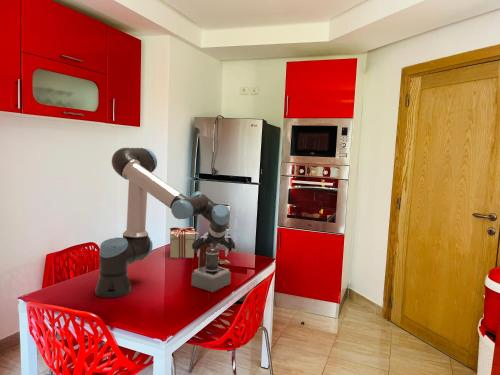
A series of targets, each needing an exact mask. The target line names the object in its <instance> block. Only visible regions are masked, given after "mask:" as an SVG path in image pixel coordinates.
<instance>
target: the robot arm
mask: <svg viewBox="0 0 500 375" xmlns="http://www.w3.org/2000/svg"><path fill="white" fill-rule="evenodd" d="M111 167H112V169H113V170H114V172H115V173H116V174H118V176H120V177H122V178H123V179H125V180H127V181H128V190H127V209H126V210H127V211H126V214H127V215H126V230H125V231H123V233H122V237H113V238H108V239H105V240H103V241H102V242H101V243H100V245H99V251H98V252H99V277H98V279H97V284H96V286H95V289H94V290H95V293H94V294H95V295H96V296H97V297H100V298H104V299H105V298H106V299H107V298H108V299H109V298H110V299H111V298H112V299H113V298H120V297H124V296H127V295H128V294H130V292H132V284H131V281H130V278H129V276H128V265H130V264H134V263H135V262H138V261H142V260H144V259H145V258H147V257H149V256H150V255H151V253H152V251H153V247H154V246H153V241H152V240H151V237H150V236H149V232H147V230H146V222H147V207H148V206H147V201H148V194H150V195H151V196H152V197H153V198H154V199H156V200H158V201H159V202H160V203H161V204H163V205H165V207H168V208H169V209H170V210H171V214H172V215H173V217H174V218H175V219H178V220H186V219H190V218H191V217H196V216H200V215H201V216H202V217H203V218H205V219H206V220H207V221H208V222H209V228H208V231H207V232H208V235H207V236H203V235H204V233H203V234H200V236H199V237H198V238H197V239H195V242H194V243H193V244H192V249H194V251H195V253H196V254H197V255H196V257H197V258H199V254H200V248H202V247H204V246H206V245H210V244H211V243H212V244H213V243H217V245H218V244H220V246H224V247H225V250H224V253H225V255H224V256H225V257H228V254H229V252H232V250H235V249H236V243H235V242H234V240H233V239H232V237H231V236H232V235H231V234H230V233H229V234H227V235H226V232H227V227H228V224H229V221H230V219H231V218H230V215H231V212H230V208H228V206H226V205H224V204H216V203H215V202H214V201H212V199H210V197H208V196H207V195H206V194H204V193H202V192H201V191H198V190H197V191H195V192H193V193H192V194H191V195H190V197H187V196H185V195H184V194H183V193H181V192H180V191H179V190H178V189H176V188H174V187H173V186H171V185H170V184H169V183H167V182H165V181H164V180H162V179H161V178H160V177H158V176H157V175H155V174H154V173H153V172H154V171H155V170H156V168H157V167H158V158H157V157H156V154H155V153H154V151H152V150H151V149H148V148H143V147H121V148H119V149H117V150H116V151H115V152H114V153H113V155H112V157H111Z"/></svg>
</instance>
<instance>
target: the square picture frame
mask: <svg viewBox="0 0 500 375" xmlns="http://www.w3.org/2000/svg"><path fill="white" fill-rule="evenodd" d="M205 268H206V266H204V267H201V268H196V269H193V273H195V274H199V275H202V276H206V277H209V278H212V279H214V278H217V277H219V276H221V275H224V274H226V273H228V272H230V269H229V268H225V267H221V266H218V270H219V271H221V272H219V273H216V274H214V275H213V274H209V273H206V272H202V271H204V270H205Z"/></svg>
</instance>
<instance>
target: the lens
mask: <svg viewBox="0 0 500 375" xmlns="http://www.w3.org/2000/svg"><path fill="white" fill-rule="evenodd" d="M219 250H220V249H219V247H218V248H217V247H208V248H206V268H205V270H206V273H209V274H213V275H214V274H216V273H218V267H219V263H218V257H219V254H220V251H219ZM219 258H220V257H219Z"/></svg>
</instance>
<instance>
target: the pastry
mask: <svg viewBox="0 0 500 375" xmlns="http://www.w3.org/2000/svg"><path fill="white" fill-rule="evenodd" d="M218 264H220V265H223V264H224V265H229V264H231V262H230V261H229V260H227V259H220V257H218Z"/></svg>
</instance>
